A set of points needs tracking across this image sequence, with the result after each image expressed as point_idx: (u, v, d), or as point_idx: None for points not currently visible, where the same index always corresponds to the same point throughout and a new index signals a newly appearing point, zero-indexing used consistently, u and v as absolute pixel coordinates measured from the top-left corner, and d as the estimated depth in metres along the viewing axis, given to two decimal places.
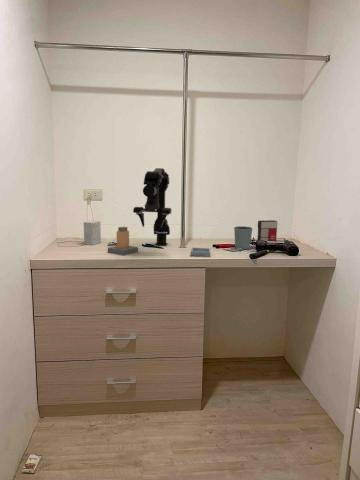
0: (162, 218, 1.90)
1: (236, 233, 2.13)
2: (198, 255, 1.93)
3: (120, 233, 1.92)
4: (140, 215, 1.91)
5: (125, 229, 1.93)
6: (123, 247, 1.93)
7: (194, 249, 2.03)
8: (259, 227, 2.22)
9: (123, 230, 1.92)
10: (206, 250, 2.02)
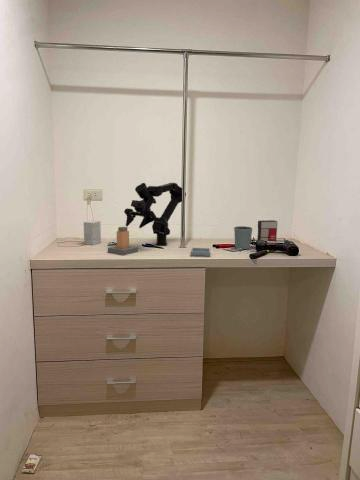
0: (143, 219, 1.98)
1: (236, 233, 2.13)
2: (198, 255, 1.93)
3: (120, 233, 1.92)
4: (128, 214, 2.04)
5: (125, 229, 1.93)
6: (123, 247, 1.93)
7: (194, 249, 2.03)
8: (259, 227, 2.22)
9: (123, 230, 1.92)
10: (206, 250, 2.02)
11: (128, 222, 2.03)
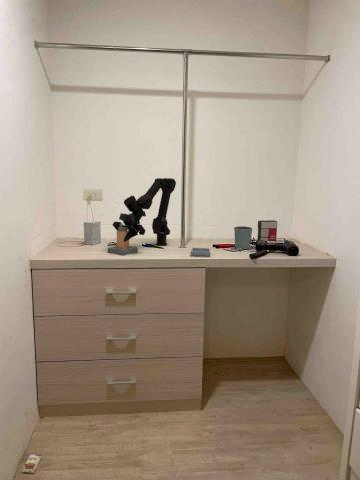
0: (128, 232, 1.93)
1: (236, 233, 2.13)
2: (198, 255, 1.93)
3: (120, 233, 1.92)
4: None
5: (125, 229, 1.93)
6: (123, 247, 1.93)
7: (194, 249, 2.03)
8: (259, 227, 2.22)
9: (123, 230, 1.92)
10: (206, 250, 2.02)
11: None
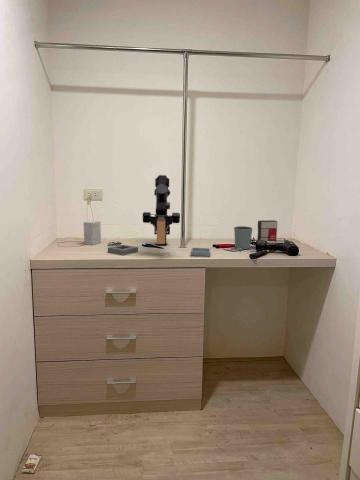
0: (167, 221, 1.88)
1: (236, 233, 2.13)
2: (198, 255, 1.93)
3: (162, 223, 1.85)
4: (154, 218, 1.88)
5: None
6: None
7: (194, 249, 2.03)
8: (259, 227, 2.22)
9: (164, 220, 1.86)
10: (206, 250, 2.02)
11: (156, 227, 1.88)
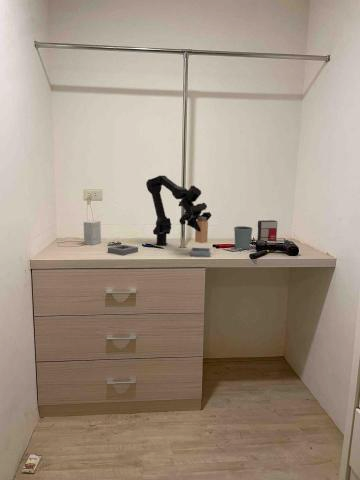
0: None
1: (236, 233, 2.13)
2: (198, 255, 1.93)
3: (205, 223, 1.94)
4: (195, 219, 1.94)
5: None
6: None
7: (194, 249, 2.03)
8: (259, 227, 2.22)
9: None
10: (206, 250, 2.02)
11: None
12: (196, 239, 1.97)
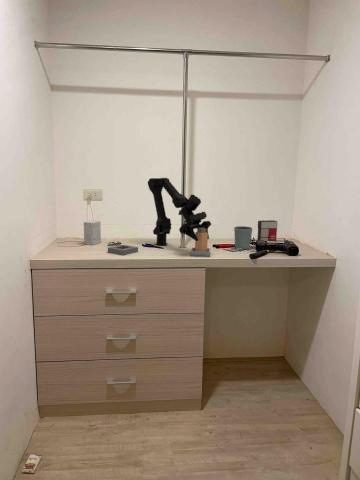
0: (206, 229, 2.00)
1: (236, 233, 2.13)
2: (198, 255, 1.93)
3: (205, 234, 1.95)
4: (192, 228, 1.94)
5: None
6: None
7: (194, 249, 2.03)
8: (259, 227, 2.22)
9: None
10: None
11: None
12: (196, 250, 1.98)
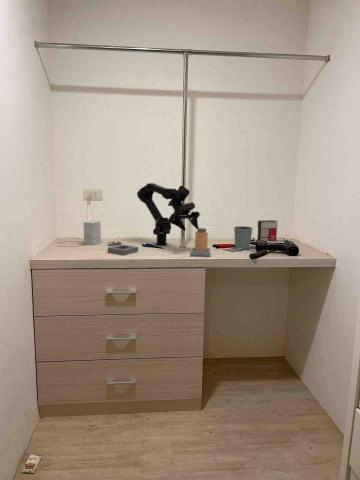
0: (196, 220, 2.06)
1: (236, 233, 2.13)
2: (198, 255, 1.93)
3: (205, 234, 1.95)
4: (180, 218, 1.99)
5: None
6: None
7: (194, 249, 2.03)
8: (259, 227, 2.22)
9: None
10: None
11: None
12: (196, 250, 1.98)
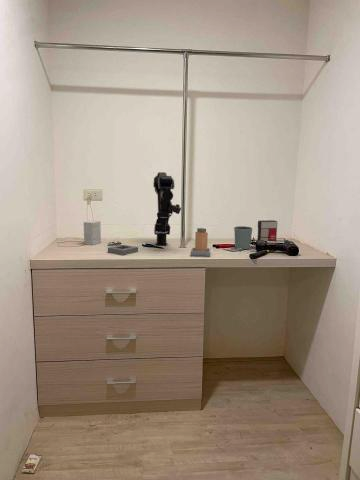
0: (168, 218, 2.09)
1: (236, 233, 2.13)
2: (198, 255, 1.93)
3: (205, 234, 1.95)
4: (167, 219, 1.98)
5: None
6: None
7: (194, 249, 2.03)
8: (259, 227, 2.22)
9: None
10: None
11: None
12: (196, 250, 1.98)
